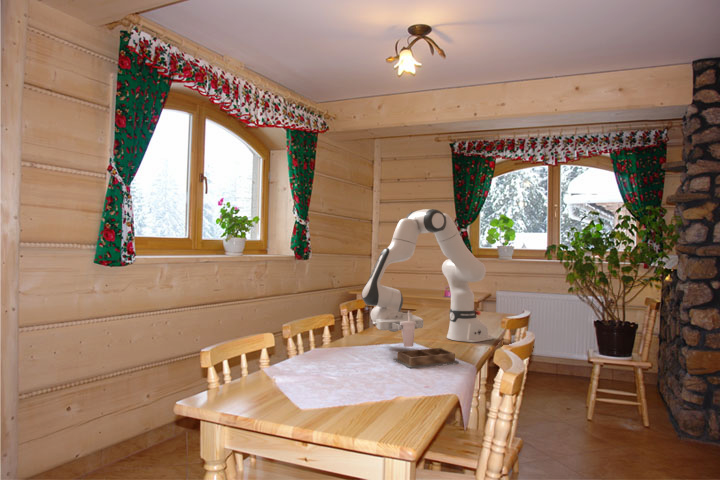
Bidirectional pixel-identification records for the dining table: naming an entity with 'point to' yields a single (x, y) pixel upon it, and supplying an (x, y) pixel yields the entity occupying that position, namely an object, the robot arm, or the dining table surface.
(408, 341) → the smoothie
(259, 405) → the dining table surface
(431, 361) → the tray
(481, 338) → the robot arm
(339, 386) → the dining table surface
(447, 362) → the mat
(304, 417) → the dining table surface
